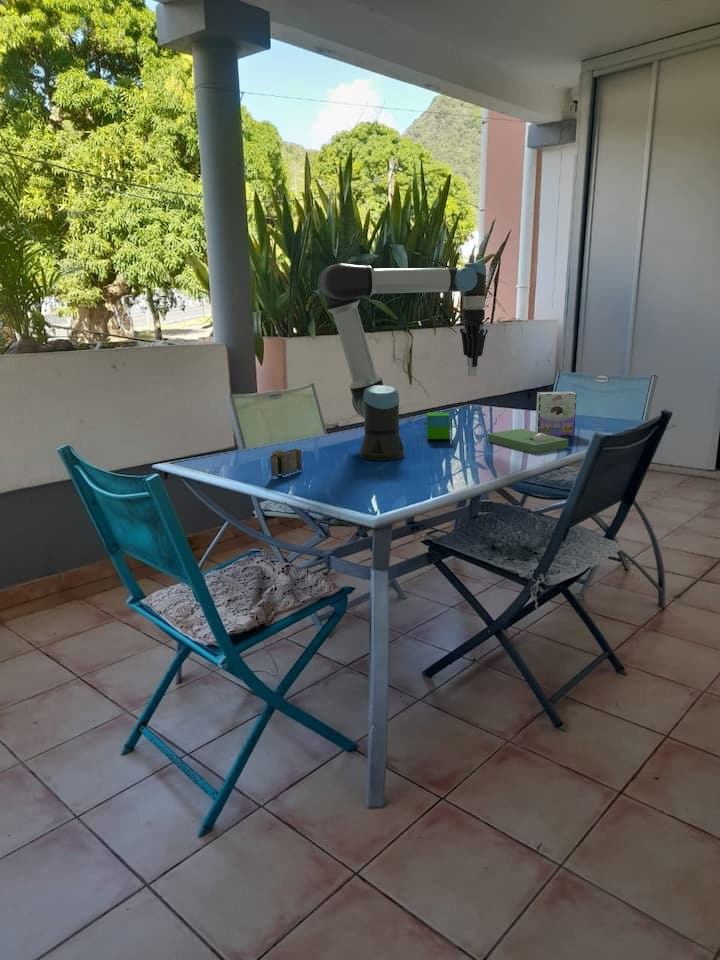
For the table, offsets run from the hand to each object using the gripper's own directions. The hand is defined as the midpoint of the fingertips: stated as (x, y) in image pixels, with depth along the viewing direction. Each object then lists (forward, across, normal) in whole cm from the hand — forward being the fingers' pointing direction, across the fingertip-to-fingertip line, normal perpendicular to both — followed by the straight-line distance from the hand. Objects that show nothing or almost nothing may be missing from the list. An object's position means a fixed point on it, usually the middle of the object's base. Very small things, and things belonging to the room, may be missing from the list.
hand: (472, 375), depth 242 cm
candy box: (+24, -11, -32) cm, 42 cm away
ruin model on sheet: (+25, -6, +77) cm, 81 cm away
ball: (+21, -24, -12) cm, 34 cm away
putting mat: (+24, -17, -12) cm, 32 cm away
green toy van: (+25, +11, +7) cm, 28 cm away
